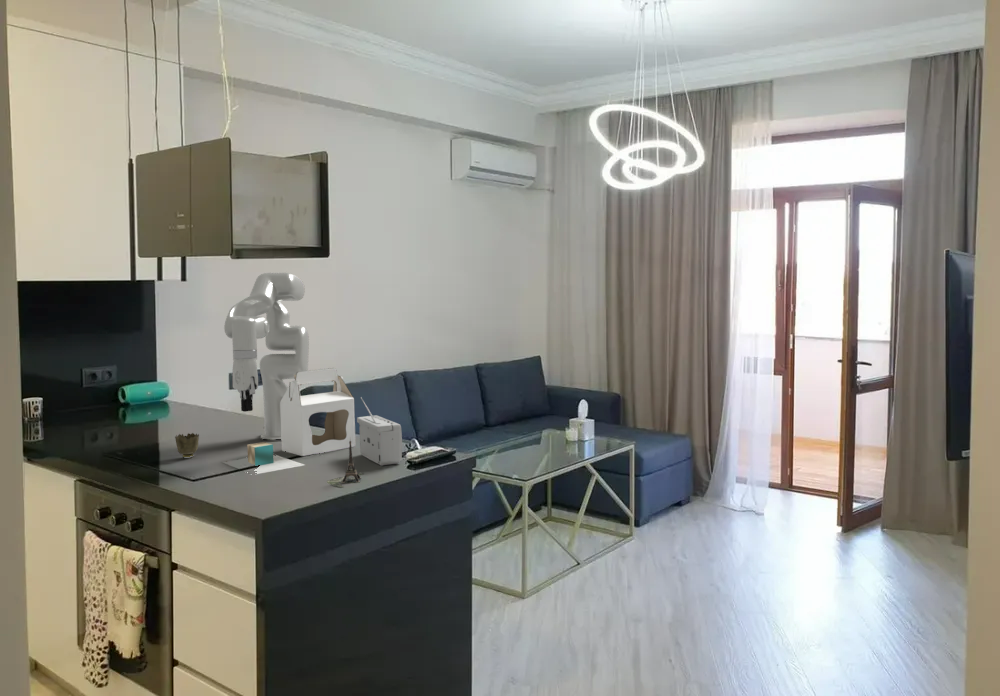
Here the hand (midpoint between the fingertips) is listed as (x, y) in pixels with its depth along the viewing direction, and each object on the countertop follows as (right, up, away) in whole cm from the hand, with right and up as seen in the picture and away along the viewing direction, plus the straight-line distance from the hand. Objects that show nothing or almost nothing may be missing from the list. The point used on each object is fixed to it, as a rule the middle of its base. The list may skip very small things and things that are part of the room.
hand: (247, 410), depth 262 cm
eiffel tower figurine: (+39, -19, -26) cm, 51 cm away
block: (+4, -13, -3) cm, 14 cm away
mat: (+7, -17, -5) cm, 19 cm away
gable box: (+20, -15, +17) cm, 30 cm away
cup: (-21, -17, +5) cm, 27 cm away
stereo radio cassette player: (+44, -16, 0) cm, 47 cm away
